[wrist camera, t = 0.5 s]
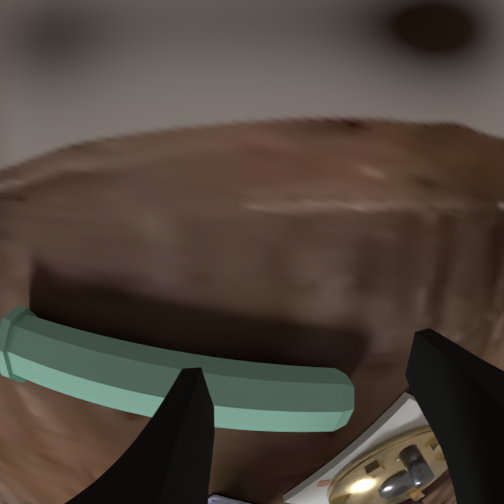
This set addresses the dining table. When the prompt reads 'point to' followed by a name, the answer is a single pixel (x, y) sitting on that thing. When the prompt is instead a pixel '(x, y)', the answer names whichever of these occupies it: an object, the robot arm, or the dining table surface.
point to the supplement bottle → (413, 502)
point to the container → (171, 377)
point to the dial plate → (359, 449)
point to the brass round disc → (391, 471)
